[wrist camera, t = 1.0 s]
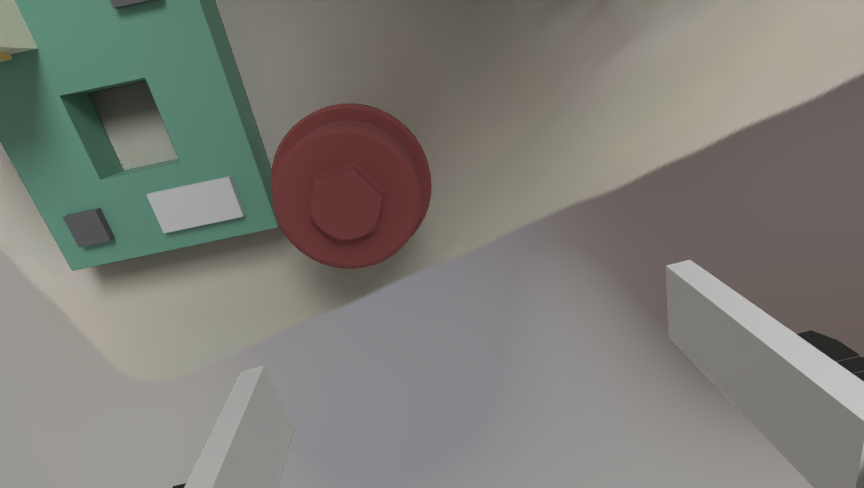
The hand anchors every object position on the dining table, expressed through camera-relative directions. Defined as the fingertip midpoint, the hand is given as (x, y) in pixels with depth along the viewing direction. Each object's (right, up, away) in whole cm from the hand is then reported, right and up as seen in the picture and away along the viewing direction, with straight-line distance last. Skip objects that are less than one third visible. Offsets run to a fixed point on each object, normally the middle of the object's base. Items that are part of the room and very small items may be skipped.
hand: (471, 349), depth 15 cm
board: (-23, +14, +18) cm, 33 cm away
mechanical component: (-7, +10, +22) cm, 25 cm away
